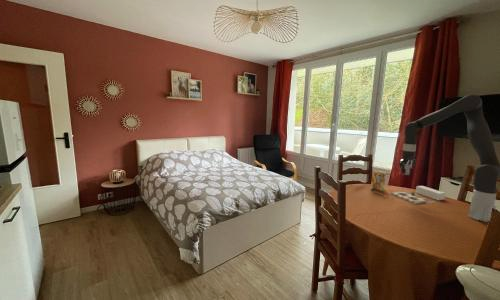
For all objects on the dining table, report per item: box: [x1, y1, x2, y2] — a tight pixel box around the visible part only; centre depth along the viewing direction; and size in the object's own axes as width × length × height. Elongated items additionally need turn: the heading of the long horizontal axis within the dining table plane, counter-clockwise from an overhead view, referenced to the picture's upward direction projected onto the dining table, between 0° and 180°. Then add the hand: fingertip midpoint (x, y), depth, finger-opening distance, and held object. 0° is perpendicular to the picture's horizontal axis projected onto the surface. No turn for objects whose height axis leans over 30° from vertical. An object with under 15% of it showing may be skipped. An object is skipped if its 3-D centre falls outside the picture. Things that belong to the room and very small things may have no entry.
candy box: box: [370, 170, 387, 191], centre depth 175 cm, size 9×4×15 cm, turn 44°
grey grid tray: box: [405, 190, 436, 204], centre depth 159 cm, size 20×7×4 cm, turn 15°
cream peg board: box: [390, 191, 427, 205], centre depth 157 cm, size 18×10×2 cm, turn 15°
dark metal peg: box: [401, 164, 411, 176], centre depth 157 cm, size 4×4×8 cm
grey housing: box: [415, 185, 446, 201], centre depth 162 cm, size 16×6×6 cm, turn 15°
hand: (405, 173), depth 158 cm, fingers closed on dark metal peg, 4 cm apart
